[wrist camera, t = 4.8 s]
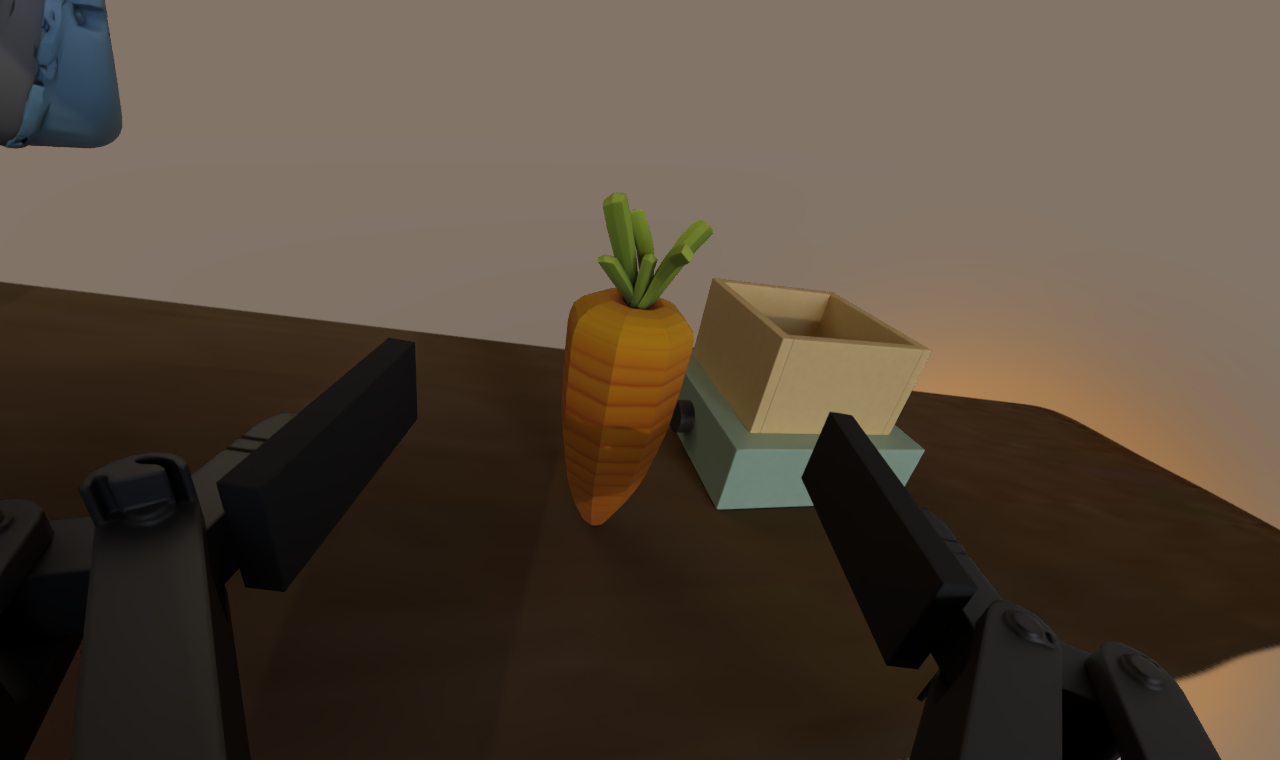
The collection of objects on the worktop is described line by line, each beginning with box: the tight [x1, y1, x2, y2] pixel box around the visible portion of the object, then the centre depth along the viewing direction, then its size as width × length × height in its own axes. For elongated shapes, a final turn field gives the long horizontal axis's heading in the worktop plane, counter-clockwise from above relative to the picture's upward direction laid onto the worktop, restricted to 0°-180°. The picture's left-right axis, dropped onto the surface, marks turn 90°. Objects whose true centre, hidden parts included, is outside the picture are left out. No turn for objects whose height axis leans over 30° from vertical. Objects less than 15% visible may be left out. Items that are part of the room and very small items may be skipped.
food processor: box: [670, 278, 932, 509], centre depth 30 cm, size 13×12×10 cm
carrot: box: [561, 193, 713, 525], centre depth 20 cm, size 5×5×15 cm
